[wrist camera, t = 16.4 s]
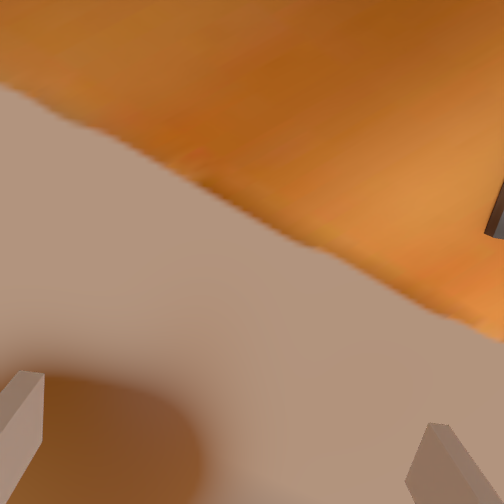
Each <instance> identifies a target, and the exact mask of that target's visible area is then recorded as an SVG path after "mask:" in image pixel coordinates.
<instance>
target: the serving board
mask: <svg viewBox="0 0 504 504" xmlns="http://www.w3.org/2000/svg"><path fill="white" fill-rule="evenodd" d="M484 234H487V235H489V236H491V237H493V238H499V239H504V184H503V186H502V189H501V192H500V194H499V197H498V199H497V202H496V204H495V207H494V210H493V212H492V215H491V217H490V220H489V222H488V225H487V228H486V230H485V233H484Z"/></svg>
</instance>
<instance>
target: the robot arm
mask: <svg viewBox="0 0 504 504" xmlns="http://www.w3.org/2000/svg"><path fill="white" fill-rule="evenodd" d="M43 401H44V373H36V372H29V371H21V370H19V372H18V373H17V374H16V375H15V376H14V378H13V379H12V380H11V381H10V382H9V383H8V385H7V386H6V387H5V388H4V389H3V390H2V392H1V393H0V504H6V502H7V500H8V499H9V497H10V495H11V493H12V492H13V490H14V489H15V487H16V485H17V483H18V482H19V480H20V478H21V477H22V475H23V473H24V471H25V470H26V468H27V466H28V465H29V463H30V461H31V459H32V458H33V456H34V454H35V453H36V451H37V449H38V448H39V446H40V444H41V442H42V428H43V427H42V426H43ZM405 483H406V485H407V487H408V490H409V492H410V494H411V496H412V498H413V500H414V502H415V504H504V503H503V502H502V500H501V499H500V497H499V496H498V494H497V493H496V491H495V490H494V489H493V487H492V486H491V484H490V483H489V482H488V480H487V479H486V477H485V476H484V474H483V473H482V472H481V470H480V469H479V467H478V466H477V465H476V463H475V462H474V460H473V459H472V457H471V456H470V455H469V453H468V452H467V450H466V449H465V448H464V446H463V445H462V443H461V442H460V441H459V439H458V438H457V436H456V435H455V433H454V432H453V431H452V429H451V428H450V427H449V425H443V424H435V423H428V425H427V428H426V430H425V433H424V435H423V438H422V440H421V443H420V445H419V447H418V450H417V452H416V455H415V457H414V460H413V462H412V465H411V467H410V470H409V472H408V475H407V477H406V479H405Z"/></svg>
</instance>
